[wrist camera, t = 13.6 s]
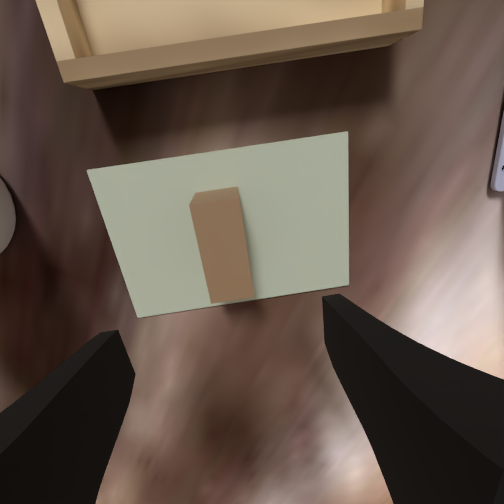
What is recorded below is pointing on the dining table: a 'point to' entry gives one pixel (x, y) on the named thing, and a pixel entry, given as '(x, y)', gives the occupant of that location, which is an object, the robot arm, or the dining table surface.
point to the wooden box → (211, 34)
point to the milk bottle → (6, 216)
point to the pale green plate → (229, 223)
